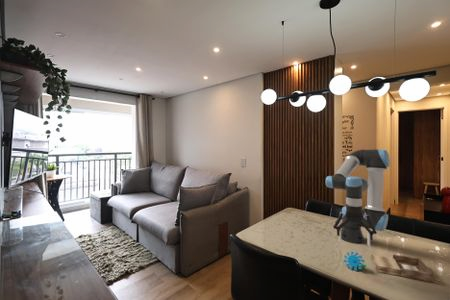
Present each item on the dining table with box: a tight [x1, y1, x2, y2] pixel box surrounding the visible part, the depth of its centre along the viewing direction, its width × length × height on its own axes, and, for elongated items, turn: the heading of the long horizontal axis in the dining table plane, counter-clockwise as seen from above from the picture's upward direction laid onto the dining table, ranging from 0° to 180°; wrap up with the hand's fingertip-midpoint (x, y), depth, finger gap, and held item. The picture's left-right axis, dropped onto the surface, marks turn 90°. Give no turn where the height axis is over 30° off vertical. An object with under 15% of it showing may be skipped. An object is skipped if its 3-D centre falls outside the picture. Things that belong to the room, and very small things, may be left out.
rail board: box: [369, 253, 434, 283], centre depth 116 cm, size 23×16×4 cm
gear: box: [343, 251, 368, 272], centre depth 118 cm, size 11×6×10 cm
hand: (354, 243), depth 117 cm, fingers open, 13 cm apart
